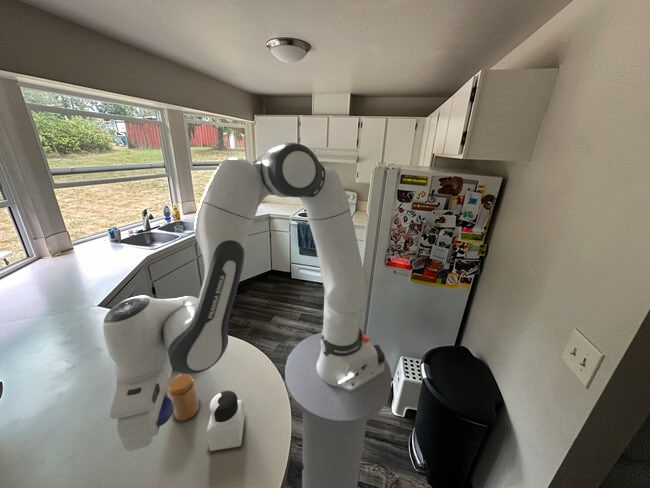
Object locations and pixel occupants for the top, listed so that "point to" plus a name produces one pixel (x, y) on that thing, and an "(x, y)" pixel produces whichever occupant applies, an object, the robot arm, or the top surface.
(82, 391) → the top surface
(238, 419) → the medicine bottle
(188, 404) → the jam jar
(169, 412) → the jar lid
